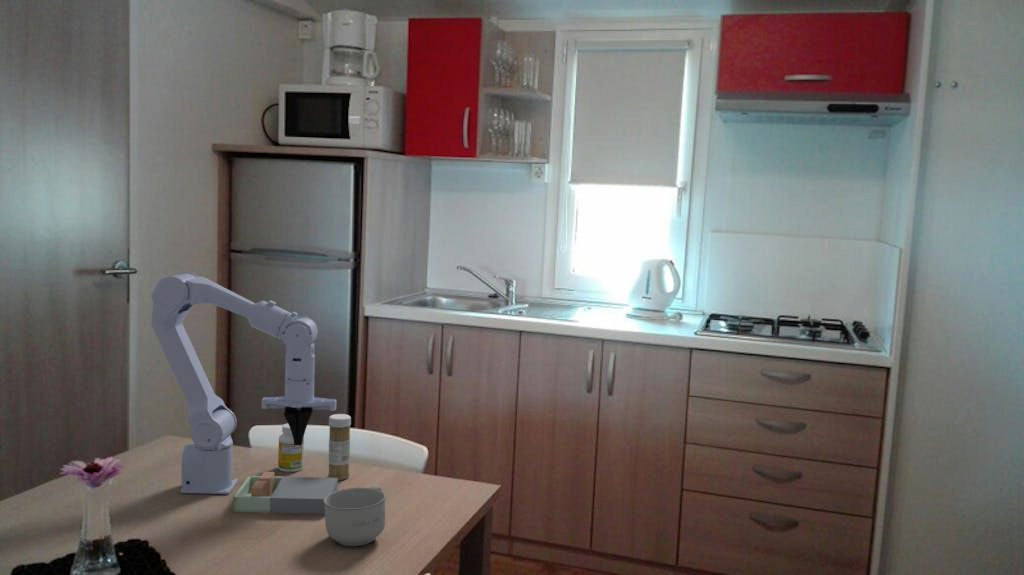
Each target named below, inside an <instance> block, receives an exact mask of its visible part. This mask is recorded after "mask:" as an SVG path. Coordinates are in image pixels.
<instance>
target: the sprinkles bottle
mask: <svg viewBox="0 0 1024 575" xmlns="http://www.w3.org/2000/svg"><path fill="white" fill-rule="evenodd" d="M351 425H352V417H351V416H350V415H349V414H345V413H337V414H335V413H334V414H331V415H330V416H329V418H328V427H329V439H328V473H327V476H328V477H327V478H338V481H342V480H346V479H348V478H349V477H350V458H351V457H350V455H351V452H350V451H351V438H350V436H351V433H350V432H351V429H350V428H351Z"/></svg>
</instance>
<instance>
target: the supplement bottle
mask: <svg viewBox="0 0 1024 575" xmlns="http://www.w3.org/2000/svg"><path fill="white" fill-rule="evenodd" d="M281 431H282V434H280V435H279V437H278V457H277V458H278V460H277V461H278V466H277V467H278V470H279V471H281V472H285V473H294V472H299V471H301V470H303V469H304V466H305V465H304V462H305V461H304V460H305V437H304V438H303V443H302V445H294V440H293V435H292V432H291V429H290V426H289V424H288V422H287V423H284V424H282V428H281Z"/></svg>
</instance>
